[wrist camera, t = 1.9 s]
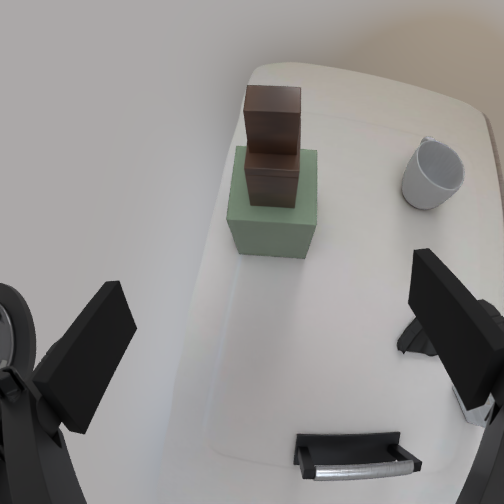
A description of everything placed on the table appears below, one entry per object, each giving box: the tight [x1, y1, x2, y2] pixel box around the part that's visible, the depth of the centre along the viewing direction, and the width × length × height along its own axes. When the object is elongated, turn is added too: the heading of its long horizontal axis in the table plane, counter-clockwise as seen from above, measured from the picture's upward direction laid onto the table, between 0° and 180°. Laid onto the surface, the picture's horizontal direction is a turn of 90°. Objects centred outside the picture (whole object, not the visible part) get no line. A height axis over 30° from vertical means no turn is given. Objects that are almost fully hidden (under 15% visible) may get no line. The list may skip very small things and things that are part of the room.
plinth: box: [226, 146, 317, 259], centre depth 43 cm, size 10×10×14 cm
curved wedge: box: [397, 317, 438, 356], centre depth 43 cm, size 8×14×2 cm, turn 96°
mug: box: [402, 136, 465, 210], centre depth 46 cm, size 13×9×10 cm
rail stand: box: [294, 432, 422, 481], centre depth 34 cm, size 16×5×11 cm, turn 85°
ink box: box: [453, 386, 495, 428], centre depth 33 cm, size 4×8×15 cm, turn 28°
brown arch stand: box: [243, 85, 301, 208], centre depth 30 cm, size 5×6×14 cm
